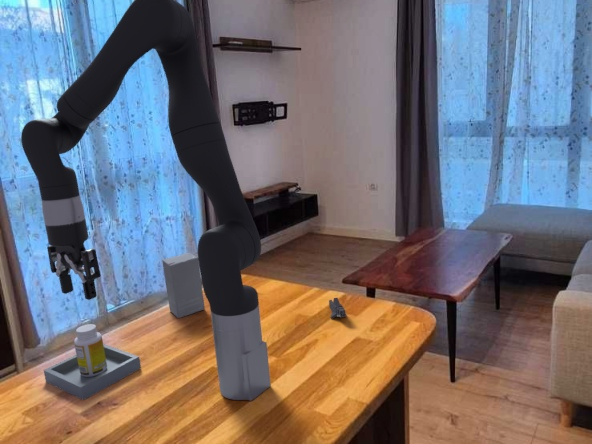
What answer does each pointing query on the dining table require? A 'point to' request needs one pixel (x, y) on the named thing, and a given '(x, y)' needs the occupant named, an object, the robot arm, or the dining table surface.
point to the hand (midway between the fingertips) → (79, 295)
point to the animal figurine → (336, 309)
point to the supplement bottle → (90, 351)
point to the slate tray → (84, 387)
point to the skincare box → (183, 284)
